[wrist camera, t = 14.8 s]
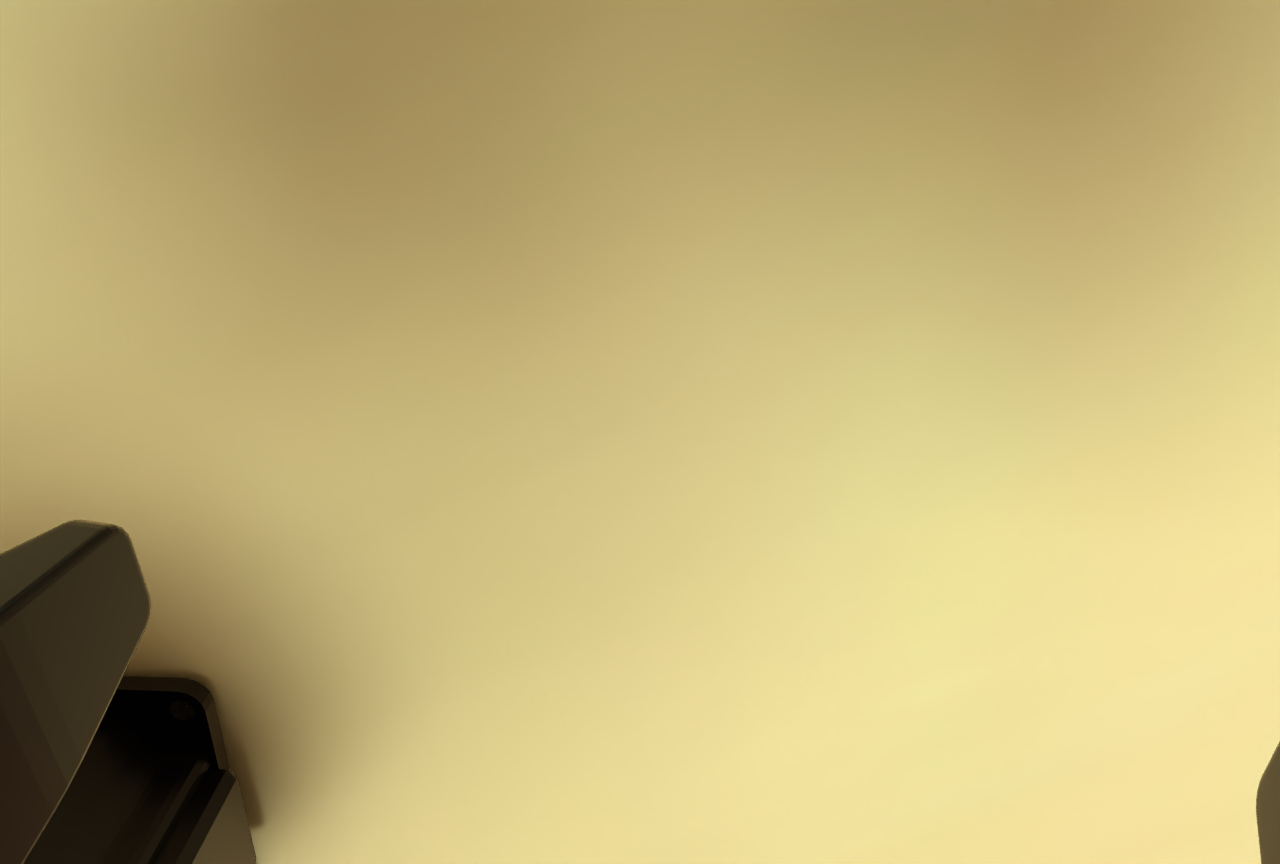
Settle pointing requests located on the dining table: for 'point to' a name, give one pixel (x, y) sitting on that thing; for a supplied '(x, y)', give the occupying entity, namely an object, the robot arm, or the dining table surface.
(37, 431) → the dining table surface
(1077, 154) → the dining table surface
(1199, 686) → the dining table surface
